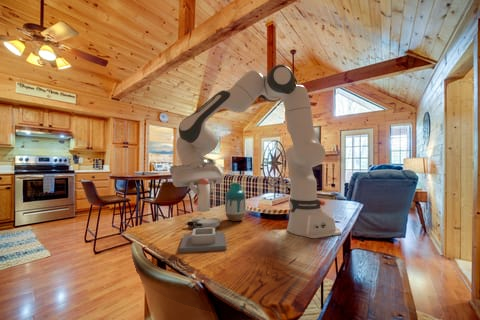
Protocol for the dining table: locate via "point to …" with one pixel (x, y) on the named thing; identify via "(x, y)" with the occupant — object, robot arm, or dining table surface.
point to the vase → (235, 202)
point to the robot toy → (204, 222)
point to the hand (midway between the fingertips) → (204, 192)
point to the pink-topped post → (204, 195)
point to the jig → (203, 241)
